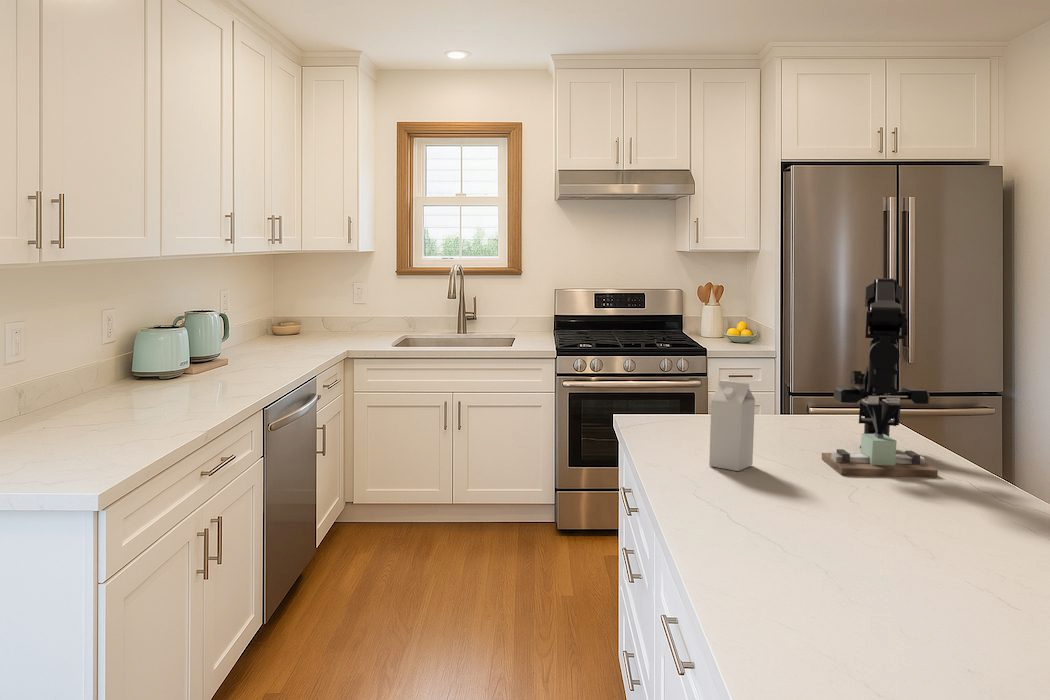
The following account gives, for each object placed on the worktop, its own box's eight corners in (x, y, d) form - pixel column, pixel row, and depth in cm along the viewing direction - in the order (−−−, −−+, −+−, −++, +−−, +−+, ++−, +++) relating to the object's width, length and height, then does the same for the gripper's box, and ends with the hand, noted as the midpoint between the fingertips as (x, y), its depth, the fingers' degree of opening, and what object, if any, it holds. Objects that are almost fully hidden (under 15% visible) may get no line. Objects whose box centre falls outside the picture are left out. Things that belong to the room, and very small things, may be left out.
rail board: (910, 460, 185) (911, 445, 185) (937, 477, 171) (938, 461, 171) (821, 459, 187) (822, 444, 186) (841, 475, 173) (841, 459, 172)
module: (883, 457, 182) (884, 430, 181) (895, 465, 175) (896, 437, 174) (860, 457, 182) (861, 430, 182) (871, 464, 175) (873, 436, 175)
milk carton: (723, 460, 185) (725, 378, 183) (752, 465, 180) (755, 381, 178) (708, 466, 179) (711, 382, 177) (739, 472, 175) (742, 385, 173)
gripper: (911, 359, 184) (907, 426, 186) (827, 358, 185) (824, 425, 187) (932, 366, 173) (928, 437, 174) (843, 364, 174) (840, 435, 176)
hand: (878, 433), depth 178 cm, fingers closed, pressing on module
